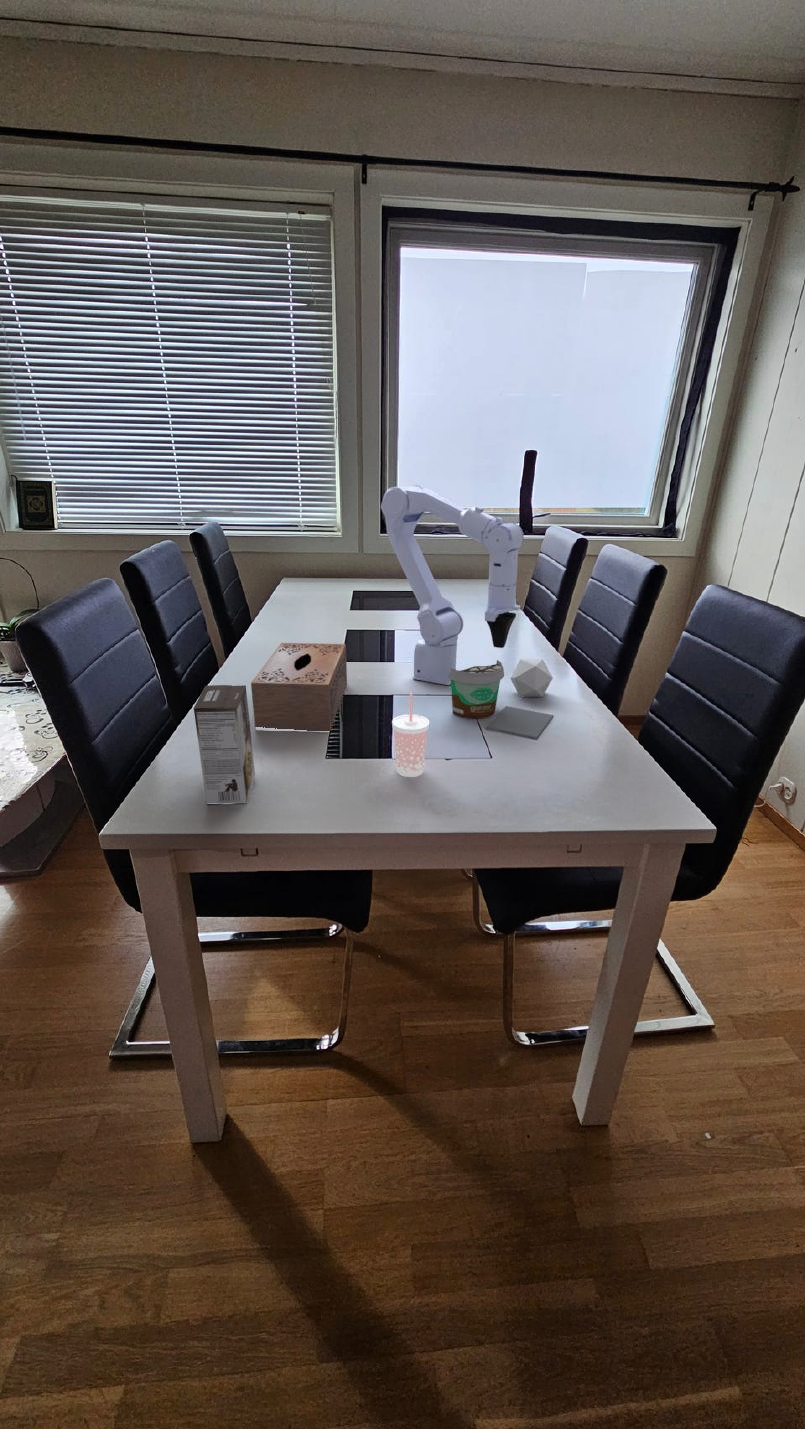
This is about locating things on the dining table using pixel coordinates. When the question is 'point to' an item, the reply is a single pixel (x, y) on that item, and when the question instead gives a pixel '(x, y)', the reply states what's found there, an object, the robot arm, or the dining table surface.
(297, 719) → the tissue box cover
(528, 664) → the die
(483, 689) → the food container
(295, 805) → the dining table surface
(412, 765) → the beverage cup
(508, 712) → the mat
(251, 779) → the coffee box
